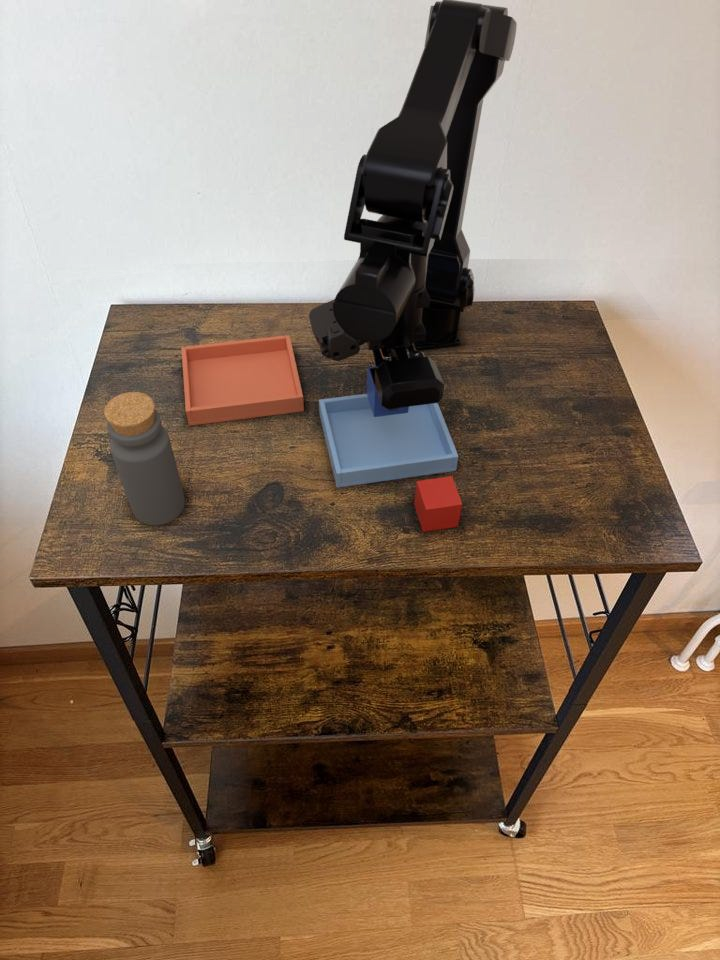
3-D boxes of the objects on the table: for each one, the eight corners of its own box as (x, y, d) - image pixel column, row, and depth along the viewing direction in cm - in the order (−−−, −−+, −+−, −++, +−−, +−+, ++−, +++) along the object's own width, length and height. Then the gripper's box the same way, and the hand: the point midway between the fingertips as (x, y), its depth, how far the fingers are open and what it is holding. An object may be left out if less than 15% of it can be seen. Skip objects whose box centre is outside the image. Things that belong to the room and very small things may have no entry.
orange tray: (290, 349, 99) (289, 334, 97) (304, 411, 92) (303, 396, 90) (184, 361, 97) (181, 346, 95) (189, 426, 89) (185, 411, 88)
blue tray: (429, 400, 93) (431, 385, 91) (456, 470, 86) (458, 456, 84) (319, 414, 91) (318, 399, 89) (336, 487, 84) (336, 473, 82)
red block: (448, 498, 83) (452, 475, 80) (458, 526, 80) (462, 504, 77) (413, 504, 82) (416, 481, 79) (422, 532, 80) (426, 509, 77)
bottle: (174, 530, 79) (146, 434, 68) (123, 521, 80) (87, 424, 68) (193, 490, 83) (169, 392, 72) (144, 481, 84) (113, 383, 72)
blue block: (400, 389, 85) (402, 362, 82) (408, 413, 83) (410, 386, 80) (366, 393, 85) (367, 367, 82) (373, 417, 82) (374, 391, 79)
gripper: (299, 234, 76) (305, 352, 88) (331, 349, 64) (332, 467, 76) (404, 224, 77) (396, 341, 89) (453, 334, 66) (436, 452, 77)
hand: (388, 396), depth 83 cm, fingers closed on blue block, 4 cm apart
